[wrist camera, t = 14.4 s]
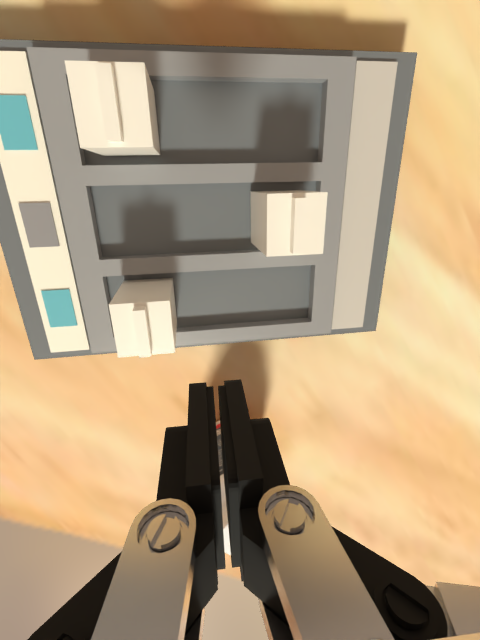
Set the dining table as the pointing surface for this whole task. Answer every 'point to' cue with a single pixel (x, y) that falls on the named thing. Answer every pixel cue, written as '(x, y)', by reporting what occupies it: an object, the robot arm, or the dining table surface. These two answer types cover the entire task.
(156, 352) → the tab
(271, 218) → the tab
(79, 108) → the tab
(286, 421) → the dining table surface
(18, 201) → the switch bank
